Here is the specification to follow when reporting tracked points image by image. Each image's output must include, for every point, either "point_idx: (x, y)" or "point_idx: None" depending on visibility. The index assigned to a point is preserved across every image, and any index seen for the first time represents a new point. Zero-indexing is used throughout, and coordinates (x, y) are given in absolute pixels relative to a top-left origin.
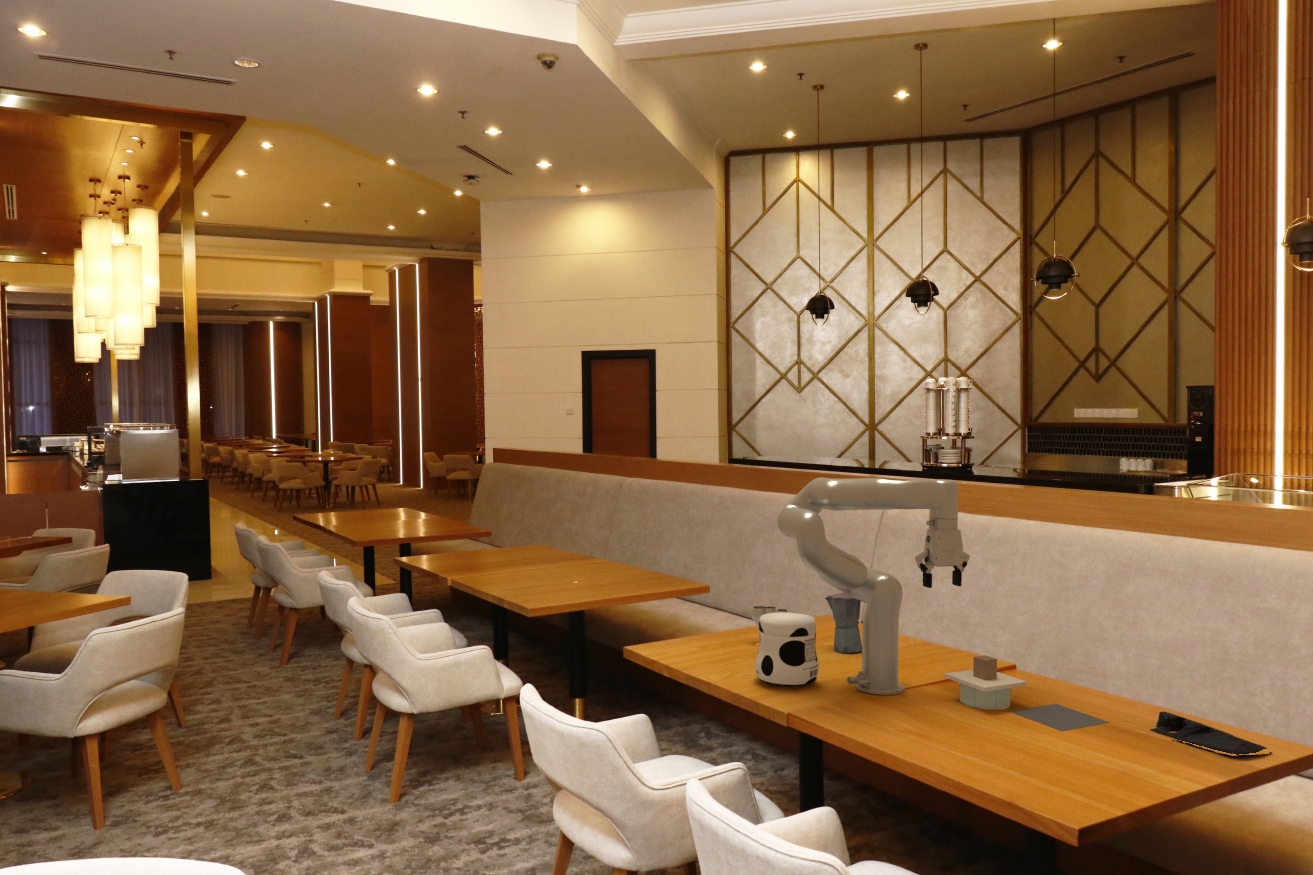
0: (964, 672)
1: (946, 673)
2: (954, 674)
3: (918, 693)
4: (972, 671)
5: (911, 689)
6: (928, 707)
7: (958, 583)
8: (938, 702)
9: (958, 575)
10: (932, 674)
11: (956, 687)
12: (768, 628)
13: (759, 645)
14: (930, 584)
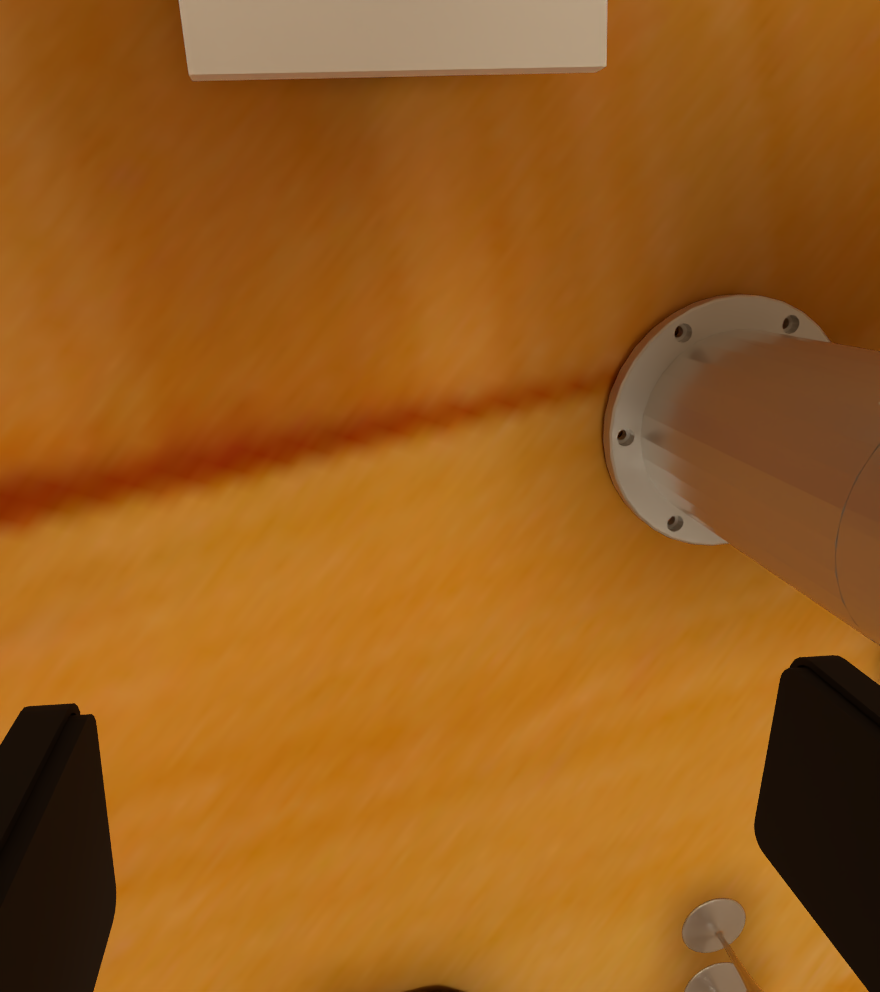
0: (449, 23)
1: (594, 58)
2: (559, 6)
3: (590, 277)
4: (367, 24)
5: (575, 358)
6: (721, 16)
7: (82, 753)
8: (604, 77)
9: (8, 925)
10: (269, 578)
11: (300, 304)
12: None
13: None
14: (865, 683)
